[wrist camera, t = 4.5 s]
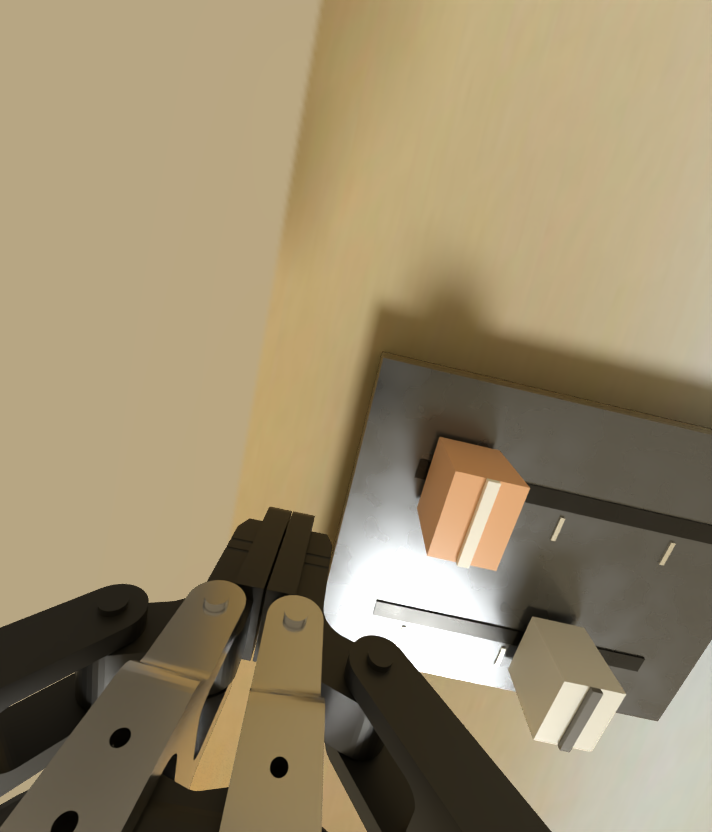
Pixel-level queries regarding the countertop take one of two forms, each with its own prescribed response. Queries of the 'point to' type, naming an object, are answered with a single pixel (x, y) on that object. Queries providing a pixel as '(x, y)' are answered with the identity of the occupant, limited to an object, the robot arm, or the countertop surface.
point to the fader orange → (469, 504)
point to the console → (531, 533)
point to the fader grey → (564, 685)
